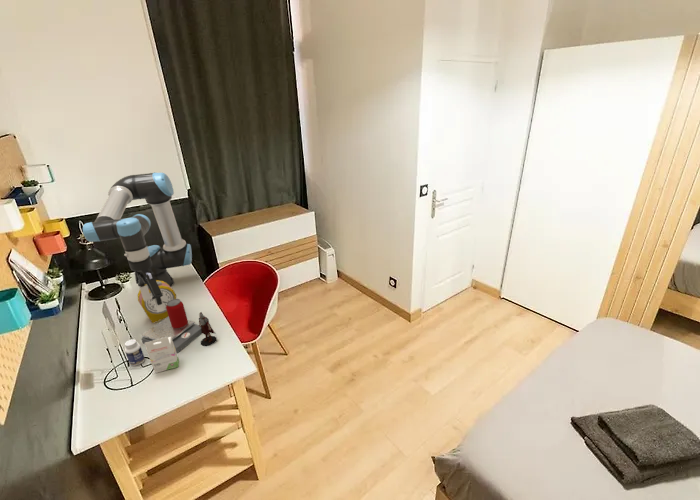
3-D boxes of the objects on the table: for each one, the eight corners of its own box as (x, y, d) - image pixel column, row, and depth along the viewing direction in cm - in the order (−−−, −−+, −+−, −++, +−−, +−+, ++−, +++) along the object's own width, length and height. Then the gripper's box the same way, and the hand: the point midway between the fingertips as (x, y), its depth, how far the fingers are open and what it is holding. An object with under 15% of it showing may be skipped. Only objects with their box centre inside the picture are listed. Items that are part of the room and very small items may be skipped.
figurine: (197, 344, 152) (188, 314, 145) (209, 334, 158) (202, 305, 151) (208, 347, 149) (200, 318, 143) (221, 337, 155) (213, 308, 149)
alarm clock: (148, 325, 166) (137, 292, 158) (144, 318, 171) (132, 285, 164) (181, 312, 174) (171, 280, 167) (176, 305, 180) (166, 274, 172)
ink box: (179, 359, 144) (169, 329, 137) (178, 367, 139) (168, 337, 133) (155, 365, 141) (145, 335, 135) (154, 373, 137) (143, 343, 130)
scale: (171, 322, 167) (170, 316, 166) (204, 330, 160) (203, 325, 159) (142, 343, 154) (140, 337, 153) (177, 353, 147) (175, 347, 145)
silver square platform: (170, 318, 166) (169, 315, 165) (195, 324, 160) (194, 321, 159) (142, 338, 153) (141, 335, 152) (168, 345, 148) (167, 342, 147)
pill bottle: (138, 366, 140) (130, 347, 136) (126, 365, 142) (119, 346, 138) (148, 357, 145) (141, 338, 141) (136, 356, 146) (129, 337, 142)
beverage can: (184, 318, 162) (178, 296, 157) (190, 324, 157) (184, 301, 152) (169, 325, 158) (162, 302, 153) (175, 331, 153) (168, 308, 148)
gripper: (117, 253, 141) (133, 299, 150) (141, 270, 126) (157, 320, 134) (137, 247, 146) (151, 291, 155) (162, 262, 131) (176, 311, 139)
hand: (154, 305), depth 145 cm, fingers open, 13 cm apart
